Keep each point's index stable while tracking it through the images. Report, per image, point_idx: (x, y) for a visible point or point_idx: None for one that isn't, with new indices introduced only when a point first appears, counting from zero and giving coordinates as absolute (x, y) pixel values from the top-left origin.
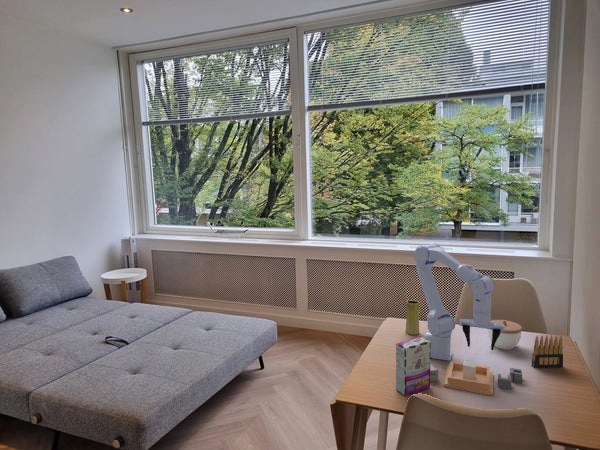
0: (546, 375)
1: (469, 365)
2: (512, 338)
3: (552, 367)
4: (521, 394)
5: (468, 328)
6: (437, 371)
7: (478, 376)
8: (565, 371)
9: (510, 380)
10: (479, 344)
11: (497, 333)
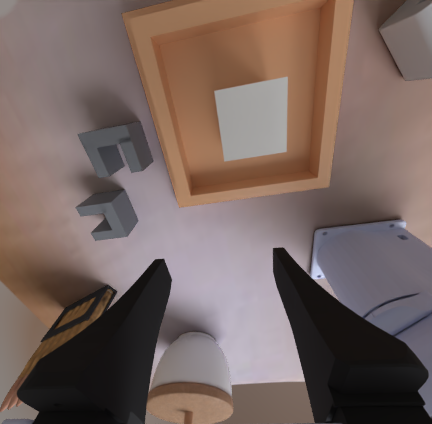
0: (69, 263)
1: (250, 99)
2: (165, 366)
3: (79, 300)
4: (56, 107)
5: (346, 390)
6: (420, 9)
7: (212, 149)
8: (51, 295)
9: (81, 134)
10: (245, 333)
11: (30, 384)
